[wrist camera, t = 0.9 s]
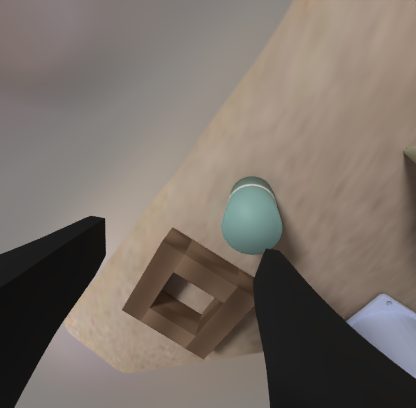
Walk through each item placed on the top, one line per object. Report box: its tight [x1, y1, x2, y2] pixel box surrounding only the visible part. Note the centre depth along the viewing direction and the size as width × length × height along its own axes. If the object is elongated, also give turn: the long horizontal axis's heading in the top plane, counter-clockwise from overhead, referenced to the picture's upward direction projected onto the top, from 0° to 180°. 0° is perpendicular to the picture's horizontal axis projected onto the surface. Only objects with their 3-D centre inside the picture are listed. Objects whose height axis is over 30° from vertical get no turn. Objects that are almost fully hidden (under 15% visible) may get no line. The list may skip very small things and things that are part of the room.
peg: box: [222, 177, 282, 255], centre depth 18 cm, size 4×4×7 cm
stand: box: [122, 228, 255, 359], centre depth 25 cm, size 11×11×3 cm
